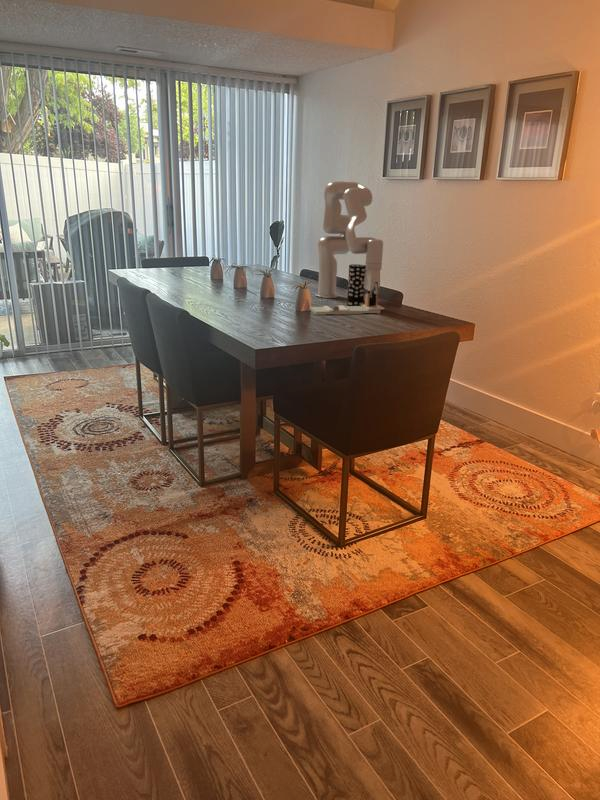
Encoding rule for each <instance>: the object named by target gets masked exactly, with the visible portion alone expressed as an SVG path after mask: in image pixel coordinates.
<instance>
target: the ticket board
mask: <svg viewBox="0 0 600 800" xmlns="http://www.w3.org/2000/svg"><path fill="white" fill-rule="evenodd" d="M310 309H311V311H312V312H311V311H310V312H311V313H312V314H314V315H315V314H316V315H315V316H325V315H326V314H335V315H363V314H362V313H377V314H381V312H382V311H381V310H382V309H379V310H368V309H366V308H365V307H363V306H347V305H344V304H342V305H341V304H340V305H337V304H336V303H334V302H332V301H326V305H323V306H310V307H309V310H310ZM326 316H327V315H326Z"/></svg>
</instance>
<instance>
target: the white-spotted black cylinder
mask: <svg viewBox="0 0 600 800" xmlns="http://www.w3.org/2000/svg"><path fill="white" fill-rule="evenodd" d="M365 268H366V264H349V267H348V278H347V279H348V281H347V297H346V306H361V304H365V290H366V289H364V278H365V271H366V269H365Z"/></svg>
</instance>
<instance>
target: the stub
mask: <svg viewBox="0 0 600 800" xmlns="http://www.w3.org/2000/svg"><path fill="white" fill-rule="evenodd" d="M373 293H374V292H373ZM373 293H372V294H373ZM378 294H379V293H378ZM378 294H377V297H376V305H375V306H369V298H370V293H367V292H365V295H364V304H361V306H363V307H365V308H366V309H368V310H385V307H383V306H381V305H380V304H378V297H379V296H378Z"/></svg>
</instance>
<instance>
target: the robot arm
mask: <svg viewBox="0 0 600 800" xmlns="http://www.w3.org/2000/svg"><path fill="white" fill-rule="evenodd" d="M323 197H324V214H323V223H322V228H323V231H324V233H325V234H328V235H326V236H322V237H321V238H320V239H318V242H317V246H318V247H317V248H318V257H319V259H318V261H319V264H318V288H317V290H318V291H317V292H316V293H314V294H315V295H314V296H315V297H317V296H318V297H317V298H321V297H322V298H323V299H336V298H338V297H339V293H337V292H336V290H337V273H338V263H337V259H336V258H335V256H334V255H346V254H348V253H349V252H351V254H354V255H361V254H366V255H365V256H366V257H365V265H366V268H365V269H366V271H365V278H364V289H365V290H366V293H370V298H369V306H375V305H376V297H377V294H379V291H380V286H381V270H382V264H383V254H384V253H383V252H384V241H383V240H382V239H379V238H374V237H372V236H371V237H369V236H368V237H364V236H363V237H361V236H360V237H357V236H356V232H355V231H356V230H355V227H356V226H358V225H360V224H362V223H363V222H365V221H366V220H367V218H368V215H367V211H366V208H365V207H368V206H370V205H371V204H372V202H373V195H372V192H371V190H370V189H369V188H368V187H367V186H365V185H363V184H361V183H359V182H356V181H330V182H328V183H327V184H326V186H325V188H324V192H323ZM340 200H343V201H344V205H345V209H346V211H347V212H346V213H347V214H342V204H341V202H340ZM329 234H333V235H329ZM335 234H336V235H335ZM337 234H339V235H337ZM372 293H373V294H372ZM377 298H378V297H377Z"/></svg>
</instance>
